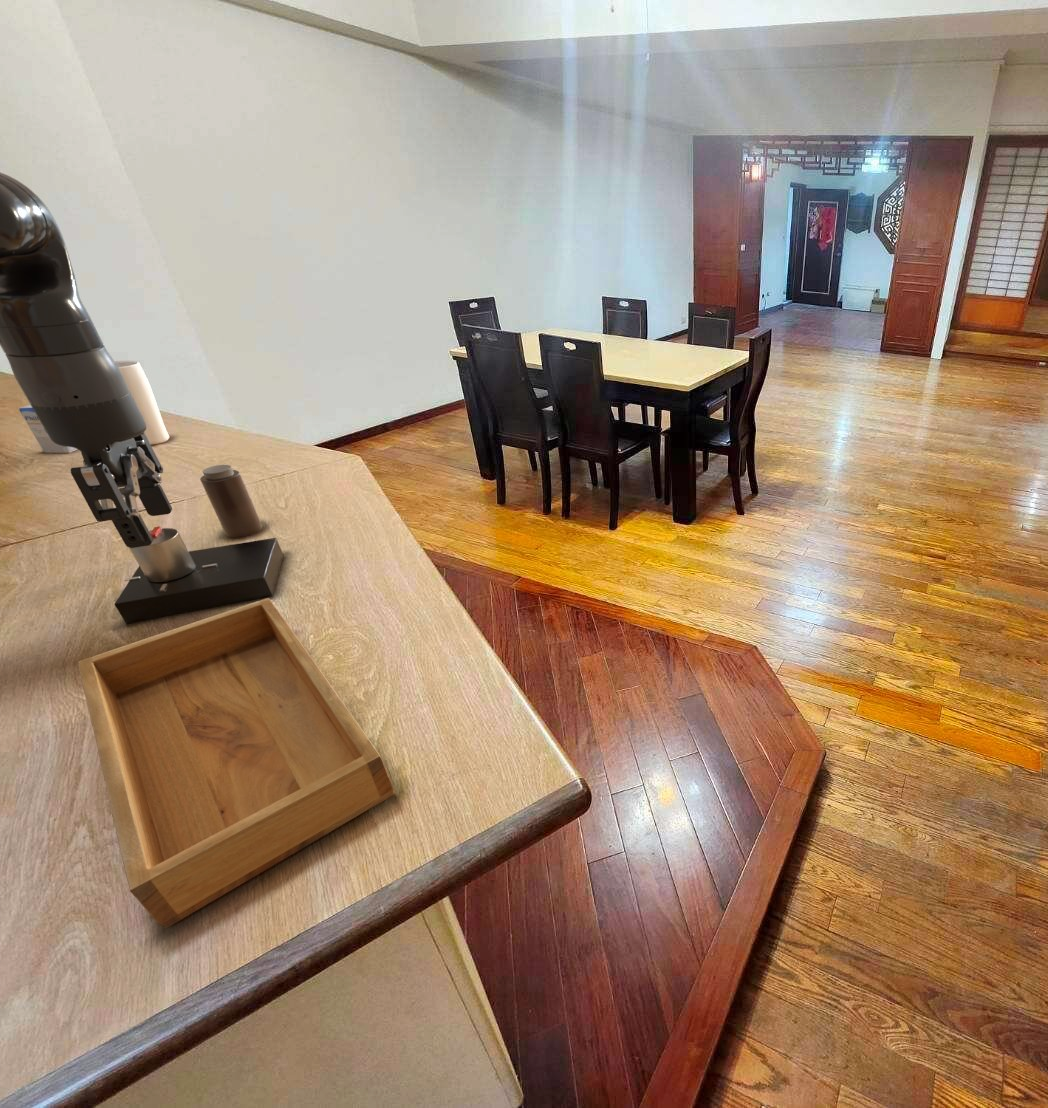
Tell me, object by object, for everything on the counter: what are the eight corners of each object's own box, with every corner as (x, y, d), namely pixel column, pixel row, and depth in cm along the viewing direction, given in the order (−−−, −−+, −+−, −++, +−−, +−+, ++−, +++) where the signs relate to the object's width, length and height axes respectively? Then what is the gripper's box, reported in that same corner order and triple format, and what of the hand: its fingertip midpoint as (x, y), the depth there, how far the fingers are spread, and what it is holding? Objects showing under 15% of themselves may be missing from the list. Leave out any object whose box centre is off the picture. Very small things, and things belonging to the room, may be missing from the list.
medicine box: (79, 439, 116) (55, 395, 112) (104, 439, 117) (81, 395, 112) (43, 453, 109) (16, 407, 105) (70, 453, 110) (44, 408, 105)
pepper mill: (223, 540, 85) (193, 477, 80) (229, 527, 88) (200, 465, 83) (260, 534, 87) (233, 472, 82) (264, 522, 90) (239, 461, 85)
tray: (397, 796, 50) (379, 751, 47) (166, 934, 40) (125, 887, 37) (287, 636, 68) (269, 596, 65) (107, 705, 58) (76, 661, 55)
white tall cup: (168, 433, 120) (133, 358, 113) (180, 441, 117) (144, 364, 110) (125, 442, 116) (85, 364, 108) (136, 450, 112) (95, 370, 105)
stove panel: (122, 626, 68) (108, 603, 66) (150, 578, 76) (138, 557, 75) (272, 596, 74) (263, 575, 72) (284, 555, 82) (275, 536, 81)
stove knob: (190, 577, 72) (171, 539, 69) (141, 586, 70) (119, 547, 67) (199, 559, 75) (181, 523, 72) (153, 567, 73) (132, 530, 71)
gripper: (104, 409, 58) (177, 550, 66) (146, 374, 68) (204, 499, 77) (-4, 417, 55) (88, 564, 63) (58, 379, 65) (129, 509, 74)
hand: (152, 528), depth 70 cm, fingers open, 8 cm apart
